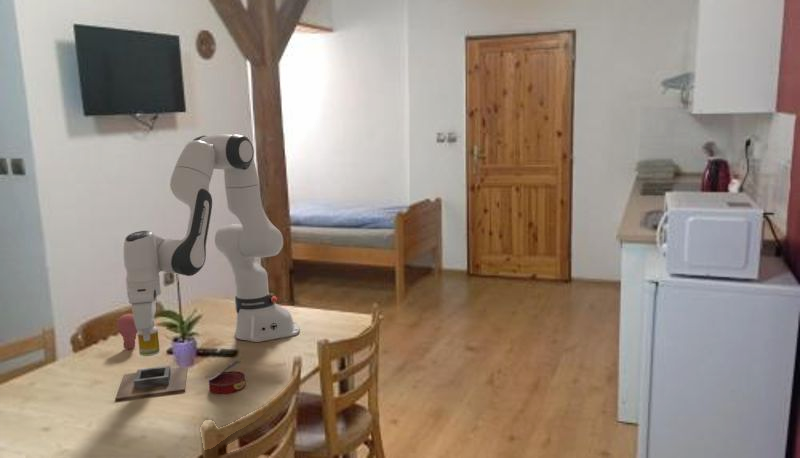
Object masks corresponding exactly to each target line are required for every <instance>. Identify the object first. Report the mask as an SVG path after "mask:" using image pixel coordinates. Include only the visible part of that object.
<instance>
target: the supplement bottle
mask: <svg viewBox="0 0 800 458" xmlns="http://www.w3.org/2000/svg"><path fill="white" fill-rule="evenodd" d="M155 325H156V323H155V318H154V319H153V322H152V325H151V328H150V336H151V339H150V341H144V340H143V334H142V331H138V332H137V339H138V340H137V341H138V351H139V355H140V356H141V357H152V356H155V355H158V354H159V353H160V342H159V329H158V327H157V326H155Z"/></svg>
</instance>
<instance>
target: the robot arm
mask: <svg viewBox="0 0 800 458" xmlns="http://www.w3.org/2000/svg"><path fill="white" fill-rule="evenodd" d="M254 150H255V149H254V146H253V143H252V141H251V140H250V139H249V138H248V137H247V136H246V135H245V136H244V135H242V134H229V133H218V134H212V135H211V134H210V135H201V136H198V137H195V138H194V139H192V140H191V141H189V142H188V143H187V144H186V145H185V146H184V148H183V149H182V151H181V152H180V155H179V157H178V158H177V162H176V163H175V166H174V169H173V171H172V173H171V177H170V183H169V186H170V191H171V192H172V194H173V196H174V197H175V198H176V199H177V200H179V201H180V202H181V203H183V204H185V205H187V206H188V208H189V211H190V213H189V219H188V220H189V221H188V223H187V228H186V229H187V230H186V235H185V236H184V238H182V239H172V238H166V237H162V236H159V235H157V234H155V233H154V232H153V231H150V230H140V231H135V232H132V233H130V234H128V235H127V236H126V237H125V239H124V242H123V263H124V268H125V270H126V277H125V283H126V295H127V298H128V303H129V304H131V311H132V314H133V317H134V323H135V327H136V329H137V331H142V334H143V340H144V341H150V339H151V336H150V328H151V325H152V322H153V319H154V320H155V314H156V312H157V305H156V301H157V300H158V298H157V297H159V296H160V295H161V294H162V288H161V287H162V286H161V277H160V274H159V273H162V272H163V273H171V274H172V273H174V274H179V275H182V276H187V277H192V276H194V275H196V274H197V273H199V271H201V270H202V268H203V267H204V265H205V263H206V257H207V255H206V254H207V251H206V250H207V249H206V246H207V240H208V232H209V228H210V222H211V216H212V210H213V209H212V208H213V197H212V194H211V193H210V192H209V191H210V184H211V180H212V177H213V174H214V170H223V172H224V186H225V188H224V189H225V195H226V202H227V204H226V205H227V208H228V210H229V212H231V214H233V215H234V216H235V217H237V219H238V220H239V222H240V223H230V224H225V225H222V226H220V227H219V228H218V229H217V231H216V233H215V235H214V244H215V246H216V249H217V250H218V251H219V252H220V253H221V254H222V255H223V256H224V257H225V258H226V260H227V261H228V263H229V265H230V267H231V270H232V273H233V276H234V284H235V293H236V294H235V295H236V296H235V299H234V303H235V312H236V327H235V332H234V337H235V338H236V339H237V340H242V341H250V342H253V343H259V342H261V343H262V342H266V341H270V340H276V339H282V338H288V337H293V336H296V335H299V334H300V331H301V330H300V329H301V327H300V326H299V324H298V323H296V322H294V320H293V317H292V315H291V313H290V311H289V310H288V309H286V308H284V307H282V306H281V305H279V304H277V302H278V298H277V296H276V295H275V294H274V293H272V292H271V293H270V291H269V279H268V278H269V275H268V272H267V270H266V269H265V268H264V267H263V266H261V264H259V262H258V260H257V259H256V258H269V257H275V256H277V255H278V254H279V253H280V252H281V250H283V249H282V248H283V246H284V238H283V237H284V236H283V234H282V232H281V231H280V230H279V229H278V228H277V227H276V226H275V225H274V224H273V223H272V222H271V221H270V219H269V217H268V216H267V214H266V212H265V210H264V207H263V204H262V203H263V202H262V198H261V191H260V182H259V176H258V172H257V167H256V164H255V162H254V153H255V152H254Z"/></svg>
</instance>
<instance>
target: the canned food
mask: <svg viewBox="0 0 800 458" xmlns="http://www.w3.org/2000/svg"><path fill="white" fill-rule="evenodd" d="M240 363H241V360H237V361H234V362H233V363H232V364H230V365H228V366H227V367H225V368H224V369H223V370H222V371H220V372H218V373H215V374H213V375H212V376H210V377H209V378H208V385H209V393H211V394H213V395H219V396H220V395H224V396H225V395H230V394H231V395H232V394H236V393H239V392H241V391H242V390H243V389H245V388H246V376H245V375H246V374H245V373H243V372H241V371H236V370H235V371H234V370H233V371H232V370H231V371H228V370H230V369H231V368H233V367H235V366H236V365H238V364H240Z"/></svg>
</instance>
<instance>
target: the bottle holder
mask: <svg viewBox="0 0 800 458" xmlns="http://www.w3.org/2000/svg"><path fill="white" fill-rule="evenodd" d="M187 374H188V366H187V365H186V366H179V367H172V368H171V365H164V366H156V367H149V368H140V369H137V371H136V372H132V373H124V374H123V375H122V378H121V381H120V384H119V387H118V390H117V392H116V396H115V402H120V401H121V402H122V401H128V400H133V399H134V400H135V399H142V398H148V397H150V398H151V397H156V396H157V397H158V396H164V395H166V396H167V395H171V394H173V395H174V394H178V393H179V394H180V393H186V387H187V377H188V375H187Z"/></svg>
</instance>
